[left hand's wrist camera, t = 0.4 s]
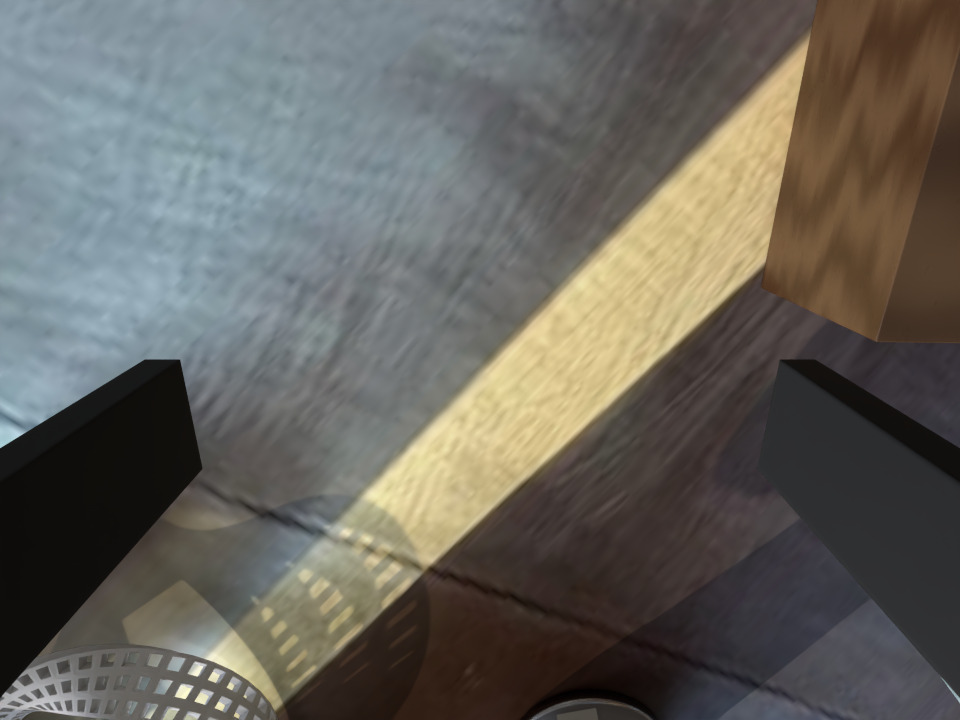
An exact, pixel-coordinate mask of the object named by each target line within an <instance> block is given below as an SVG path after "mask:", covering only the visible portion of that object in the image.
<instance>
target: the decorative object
mask: <svg viewBox="0 0 960 720" xmlns="http://www.w3.org/2000/svg"><path fill="white" fill-rule="evenodd" d="M110 653H116V656H115V660H114V662H107V657H108V654H110ZM129 653H140V655H139V657H138V660H137V662H136V664H132V663H127V661H128V657H129ZM151 654H161V655H163V657H162V659H161V661H160V663H159V665H158V667H152V666H147V664H148V661H149V659H150V656H151ZM91 655H93V656H92V662H91V663H87V656H91ZM173 656H175V657H178V658H182V659H185V660H184V662H183V664H182V666H181V668H180V670H179V672H176V671H170V670H167V668H168V666H169V663H170V661H171V659H172V657H173ZM67 660H70V665H68V664H67ZM193 663H196V664H198V665H201V666H203V668H202V670H201V672H200V674H199V676H198V677H196V676H193V675H189V674H187V673H188V672H189V670H190V668H191V666H192V665H193ZM212 672H215V673H217V674H219V675H220V676H219V678H218V680H217V682H216V683H214V682H211V681H209V680H208V678H209V677H210V675H211V673H212ZM105 676H109V679H108V682H107V685H105V684H104V681H105ZM123 676H130V678H129V680H128V682H127V685H126V687H121V683H122V679H123ZM88 677H90V678H89V683H88ZM142 677H149V678H151V680H150V682H149V684H148V686H147V687H146V689H145V691H143V690H139V689H138V687H139V685H140V682H141V679H142ZM162 679H164V680H168V681H171V682H172V684H171V685H170V687H169V689H168V690H167V692H166V694H165V695H161V694H156V691H157V689H158V687H159V685H160V683H161V680H162ZM229 682H231V683H232V684H234V685H235V686H234V688H233V690H230V689H228V688H227V686H228V684H229ZM180 685H184V686H186V687H189V688H192V689H191V691H190V693H189V695H188V696H187V698H186V699H181V698H177V697H175V695H176V693H177V691H178V689H179V687H180ZM200 692H201V693H203V694H206V695H208V696H209V698H208V699H207V701H206V703H205V705H203V704H200V703H197V702H194V701H195V699H196V698H197V696H198V694H199V693H200ZM244 694H245V695H246V696H247V698H244V697H243V696H244ZM117 700H119V703H118V705H117V707H116V709H115V710H114V708H115V704H116V701H117ZM133 701H135V702H138V704H137V706H136V708H135V710H134V711H133V713H132V715H130V714H128V713H129V710H130V708H131V705H132V703H133ZM218 701H219V702H221V703H222V704H224V705H225V707H224V709H223V711H220V710H218V709H215V706H216V704H217V703H218ZM151 703H152V704H156V705H158V707H157V709H156V710H155V712H154V714H153V715H152V717H151V719H147V718H144V717H145V714H146V712H147V710H148V708H149V706H150V704H151ZM168 708H170V709H173V710H176V711H178V713H177V714H176V716H175V717H174V719H173V720H184V718H185V716H186V715H190V716H193V717H195V718H198V719H197V720H279V719H278V716H277V714H276V712H275V711H274V709H273V707H272V705H271V703H270V702H269V701H268V700H267V699H266V697H265V696H264V695H263V694H262V693H261V691H260V690H258V689H257V688H256V687H255V686H254V685H253V684H251V683H250V682H249V681H248V680H246V679H245V678H243V677H242V676H240V675H238V674H237V673H235V672H234V671H232V670H230V669H228V668H226V667H223V666H221V665H219V664H217V663H215V662H212V661H209V660H206V659H203V658H199V657H196V656H193V655H189V654H184V653H179V652H176V651H172V650H168V649H162V648H157V647H152V646H143V645H132V644H101V645H91V646H81V647H76V648H71V649H66V650H61V651H57V652H54V653H50V654H47V655H44V656H41V657H37V658H35V659H34V660H33V661H32V663H31V664H30V665H29V666H28V667H27V668H26V669H25V671H24V672H23V673H22V674H21V675H20V676H19V677H18V678H17V680H16V681H15V682H14V683H13V684H12V685H11V686H10V688H9V689H8V690H7V691H6V692H5V693H4V694H3V695H2V697H1V698H0V720H22V719H23V718H24V717H25V716H26V715H27V714H29V713H31V712H35V711H47V712H54V713H60V714H66V715H73V716H82V717H92V718H102V719H112V720H163V718H164V716H165V714H166V712H167V710H168ZM235 712H236V713H237V714H239V715H240V717H239V719H238V718H236V717H234V714H235Z"/></svg>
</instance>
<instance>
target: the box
mask: <svg viewBox="0 0 960 720" xmlns="http://www.w3.org/2000/svg"><path fill="white" fill-rule="evenodd" d="M761 288H763V289H765V290H767V291H769V292H771V293H774V294H776V295H778V296H780V297H782V298H784V299H786V300H788V301H791V302H793V303H795V304H797V305H799V306H801V307H803V308H806V309H808V310H810V311H812V312H814V313H816V314H818V315H820V316H823V317H825V318H827V319H829V320H831V321H833V322H835V323H838V324H840V325H842V326H844V327H846V328H848V329H850V330H852V331H855V332H857V333H859V334H861V335H863V336H865V337H867V338H869V339H872V340H874V341H876V342H925V343H960V0H818V1H817V6H816V11H815V16H814V21H813V26H812V31H811V37H810V42H809V47H808V52H807V57H806V62H805V67H804V72H803V77H802V82H801V87H800V92H799V97H798V102H797V107H796V113H795V118H794V123H793V128H792V133H791V138H790V143H789V148H788V153H787V158H786V163H785V168H784V173H783V178H782V183H781V188H780V194H779V199H778V204H777V209H776V214H775V219H774V224H773V229H772V234H771V239H770V244H769V249H768V254H767V259H766V264H765V269H764V275H763V280H762V285H761Z"/></svg>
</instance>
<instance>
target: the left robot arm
mask: <svg viewBox="0 0 960 720" xmlns="http://www.w3.org/2000/svg"><path fill="white" fill-rule="evenodd" d="M201 470H202V464H201V459H200V454H199V449H198V445H197V440H196V435H195V430H194V425H193V420H192V416H191V411H190V406H189V401H188V396H187V391H186V386H185V382H184V377H183V372H182V367H181V362H180V360H143V361H142V362H140V363H139V364H137V365H135V366H134V367H132V368H130V369H129V370H127V371H126V372H124V373H122V374H121V375H119V376H117V377H116V378H114V379H112V380H111V381H109V382H108V383H106V384H104V385H103V386H101V387H99V388H98V389H96V390H95V391H93V392H91V393H90V394H88V395H86V396H85V397H83V398H82V399H80V400H78V401H77V402H75V403H73V404H72V405H70V406H68V407H67V408H65V409H64V410H62V411H60V412H59V413H57V414H55V415H54V416H52V417H51V418H49V419H47V420H46V421H44V422H42V423H41V424H39V425H37V426H36V427H34V428H33V429H31V430H29V431H28V432H26V433H24V434H23V435H21V436H20V437H18V438H16V439H15V440H13V441H11V442H10V443H8V444H7V445H5V446H3V447H2V448H0V698H1V697H2V695H3V694H4V693H5V692H6V691H7V690H8V689H9V688H10V686H11V685H12V684H13V683H14V682H15V681H16V680H17V678H18V677H19V676H20V675H21V674H22V673H23V672H24V671H25V669H26V668H27V667H28V666H29V665H30V664H31V663H32V661H33V660H34V659H35V658H36V657H37V656H38V655H39V654H40V652H41V651H42V650H43V649H44V648H45V647H46V646H47V644H48V643H49V642H50V641H51V640H52V639H53V638H54V637H55V635H56V634H57V633H58V632H59V631H60V630H61V629H62V627H63V626H64V625H65V624H66V623H67V622H68V621H69V620H70V618H71V617H72V616H73V615H74V614H75V613H76V612H77V610H78V609H79V608H80V607H81V606H82V605H83V604H84V603H85V601H86V600H87V599H88V598H89V597H90V596H91V595H92V593H93V592H94V591H95V590H96V589H97V588H98V587H99V585H100V584H101V583H102V582H103V581H104V580H105V579H106V578H107V576H108V575H109V574H110V573H111V572H112V571H113V570H114V568H115V567H116V566H117V565H118V564H119V563H120V562H121V561H122V559H123V558H124V557H125V556H126V555H127V554H128V553H129V551H130V550H131V549H132V548H133V547H134V546H135V545H136V544H137V542H138V541H139V540H140V539H141V538H142V537H143V536H144V534H145V533H146V532H147V531H148V530H149V529H150V528H151V527H152V525H153V524H154V523H155V522H156V521H157V520H158V519H159V517H160V516H161V515H162V514H163V513H164V512H165V511H166V510H167V508H168V507H169V506H170V505H171V504H172V503H173V502H174V500H175V499H176V498H177V497H178V496H179V495H180V494H181V493H182V491H183V490H184V489H185V488H186V487H187V486H188V485H189V483H190V482H191V481H192V480H193V479H194V478H195V477H196V476H197V474H198V473H199V472H200V471H201ZM758 470H759V471H760V472H761V473H762V474H763V476H764V477H765V478H766V479H767V480H768V481H769V482H770V483H771V485H772V486H773V487H774V488H775V489H776V490H777V491H778V493H779V494H780V495H781V496H782V497H783V498H784V499H785V500H786V502H787V503H788V504H789V505H790V506H791V507H792V508H793V510H794V511H795V512H796V513H797V514H798V515H799V516H800V517H801V519H802V520H803V521H804V522H805V523H806V524H807V525H808V527H809V528H810V529H811V530H812V531H813V532H814V533H815V534H816V536H817V537H818V538H819V539H820V540H821V541H822V542H823V544H824V545H825V546H826V547H827V548H828V549H829V550H830V551H831V553H832V554H833V555H834V556H835V557H836V558H837V559H838V561H839V562H840V563H841V564H842V565H843V566H844V567H845V568H846V570H847V571H848V572H849V573H850V574H851V575H852V576H853V578H854V579H855V580H856V581H857V582H858V583H859V584H860V586H861V587H862V588H863V589H864V590H865V591H866V592H867V593H868V595H869V596H870V597H871V598H872V599H873V600H874V601H875V603H876V604H877V605H878V606H879V607H880V608H881V609H882V610H883V612H884V613H885V614H886V615H887V616H888V617H889V618H890V620H891V621H892V622H893V623H894V624H895V625H896V626H897V627H898V629H899V630H900V631H901V632H902V633H903V634H904V635H905V637H906V638H907V639H908V640H909V641H910V642H911V643H912V644H913V646H914V647H915V648H916V649H917V650H918V651H919V652H920V654H921V655H922V656H923V657H924V658H925V659H926V660H927V661H928V663H929V664H930V665H931V666H932V667H933V668H934V669H935V671H936V672H937V673H938V674H939V675H940V676H941V677H942V678H943V680H944V681H945V682H946V683H947V684H948V685H949V686H950V688H951V689H952V690H953V691H954V692H955V693H956V694H957V695H958V697H959V698H960V448H958V447H957V446H955V445H953V444H952V443H950V442H949V441H947V440H945V439H944V438H942V437H940V436H939V435H937V434H936V433H934V432H932V431H931V430H929V429H927V428H926V427H924V426H922V425H921V424H919V423H918V422H916V421H914V420H913V419H911V418H909V417H908V416H906V415H905V414H903V413H901V412H900V411H898V410H896V409H895V408H893V407H892V406H890V405H888V404H887V403H885V402H883V401H882V400H880V399H878V398H877V397H875V396H874V395H872V394H870V393H869V392H867V391H865V390H864V389H862V388H861V387H859V386H857V385H856V384H854V383H852V382H851V381H849V380H848V379H846V378H844V377H843V376H841V375H839V374H838V373H836V372H834V371H833V370H831V369H830V368H828V367H826V366H825V365H823V364H821V363H820V362H818V361H817V360H780V362H779V367H778V372H777V377H776V382H775V386H774V391H773V396H772V401H771V406H770V411H769V416H768V420H767V425H766V430H765V435H764V440H763V445H762V449H761V454H760V459H759V464H758ZM520 720H657V719H656V717H655V716H654V715H653V714H652V712H651V711H649V710H648V709H647V708H646V707H645V706H643V705H642V704H640V703H639V702H637V701H635V700H633V699H631V698H629V697H626V696H623V695H620V694H616V693H611V692H605V691H578V692H572V693H567V694H563V695H559V696H556V697H553V698H551V699H548V700H546V701H544V702H542V703H540V704H539V705H537V706H535V707H534V708H533V709H531V710H530V711H529V712H527V713H526V714H525V715H524V716H523V717H522V718H521V719H520Z"/></svg>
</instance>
